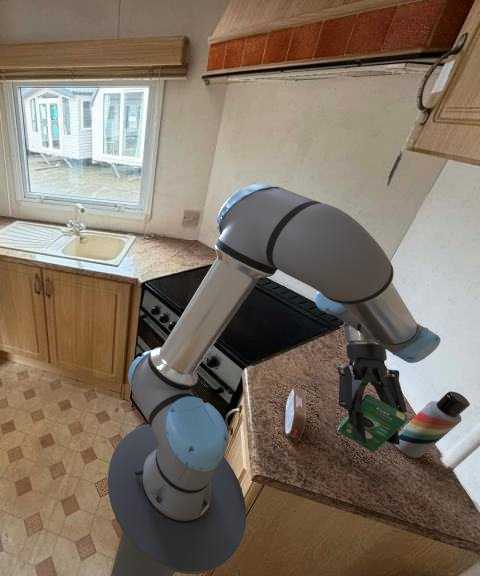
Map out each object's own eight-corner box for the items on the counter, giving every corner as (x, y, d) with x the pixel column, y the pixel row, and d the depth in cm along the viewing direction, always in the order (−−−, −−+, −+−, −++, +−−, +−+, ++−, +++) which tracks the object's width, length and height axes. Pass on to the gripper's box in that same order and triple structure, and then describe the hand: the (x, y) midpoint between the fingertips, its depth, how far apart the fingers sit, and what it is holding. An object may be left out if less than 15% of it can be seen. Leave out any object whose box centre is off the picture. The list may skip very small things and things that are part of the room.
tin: (295, 447, 77) (309, 427, 73) (281, 441, 79) (295, 421, 74) (295, 404, 89) (307, 384, 84) (283, 399, 90) (295, 380, 85)
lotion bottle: (391, 433, 83) (440, 382, 72) (418, 445, 80) (473, 395, 69) (393, 449, 79) (446, 398, 68) (422, 463, 76) (481, 412, 65)
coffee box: (376, 446, 77) (408, 414, 70) (374, 454, 75) (407, 421, 68) (339, 424, 81) (366, 392, 74) (336, 431, 80) (364, 398, 73)
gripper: (389, 347, 82) (402, 440, 77) (315, 341, 81) (322, 434, 76) (419, 346, 74) (435, 449, 69) (337, 340, 74) (347, 442, 69)
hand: (376, 441), depth 73 cm, fingers closed on coffee box, 7 cm apart
